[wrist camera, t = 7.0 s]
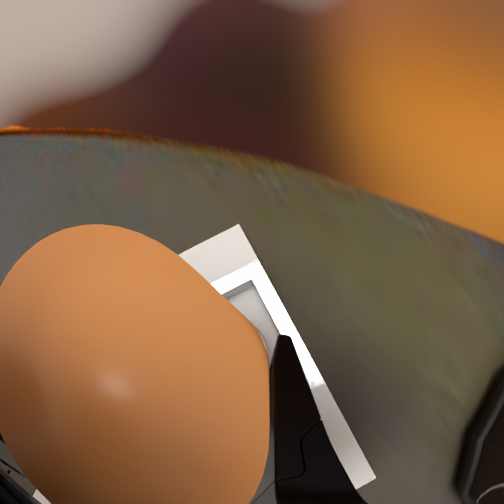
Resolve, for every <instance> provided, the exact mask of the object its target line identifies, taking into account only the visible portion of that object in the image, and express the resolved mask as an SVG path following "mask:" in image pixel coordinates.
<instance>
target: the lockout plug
mask: <svg viewBox="0 0 504 504" xmlns="http://www.w3.org/2000/svg"><path fill="white" fill-rule="evenodd" d="M269 429H270V418H269V353H268V346H267V343H266V340H265V338H264V336H263V334H262V333H261V332H260V330H259V329H258V328H257V327H256V326H255V325H254V324H253V323H252V322H250V321H249V320H248V319H247V318H246V317H245V316H244V315H243V314H242V313H241V312H240V311H239V310H237V309H236V308H235V307H234V306H233V305H232V304H231V303H230V302H229V301H228V300H227V299H226V298H225V297H224V296H222V295H221V294H220V293H219V292H218V291H217V290H216V289H215V288H214V287H213V286H212V285H211V284H210V283H209V282H208V281H207V280H206V279H205V278H204V277H203V276H202V275H201V274H200V273H199V272H197V271H196V270H195V269H194V268H193V267H192V266H190V265H189V264H188V263H187V262H186V261H185V260H184V259H182V258H181V257H180V256H179V255H178V254H176V253H175V252H173V251H171V250H170V249H168V248H167V247H165V246H164V245H162V244H161V243H159V242H158V241H155V240H153V239H151V238H149V237H147V236H145V235H143V234H141V233H138V232H135V231H132V230H128V229H125V228H122V227H117V226H110V225H102V224H96V225H81V226H76V227H71V228H67V229H64V230H61V231H59V232H56V233H54V234H51V235H50V236H48V237H46V238H44V239H43V240H41V241H39V242H38V243H37V244H35V245H34V246H33V247H32V248H30V249H29V250H28V251H27V252H26V253H25V254H24V255H23V256H22V257H21V258H20V259H19V260H18V261H17V262H16V263H15V265H14V266H13V267H12V269H11V270H10V271H9V273H8V274H7V276H6V277H5V279H4V281H3V283H2V285H1V287H0V433H1V435H2V438H3V440H4V442H5V444H6V446H7V448H8V449H9V451H10V453H11V455H12V456H13V458H14V460H15V461H16V463H17V464H18V466H19V467H20V469H21V470H22V471H23V473H24V474H25V475H26V477H27V478H28V479H29V480H30V482H31V483H32V484H33V485H34V486H35V487H36V488H37V489H38V490H39V491H40V493H41V494H42V495H43V496H44V497H45V498H46V499H48V500H49V501H50V502H51V503H52V504H248V503H249V502H250V501H251V499H252V498H253V496H254V495H255V493H256V490H257V488H258V486H259V483H260V481H261V479H262V476H263V473H264V469H265V465H266V460H267V456H268V448H269Z"/></svg>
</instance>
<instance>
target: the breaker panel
mask: <svg viewBox="0 0 504 504" xmlns="http://www.w3.org/2000/svg"><path fill="white" fill-rule="evenodd" d="M179 256H180V257H181V258H182V259H184V260H185V261H186V262H187V263H188V264H189V265H190V266H192V267H193V268H194V269H195V270H196V271H197V272H199V273H200V274H201V275H202V276H203V277H204V278H205V279H206V280H207V281H208V282H209V283H210V284H211V283H213V282H215V281H217V280H219V279H220V278H222V277H224V276H226V275H228V274H230V273H232V272H234V271H236V270H238V269H240V268H242V267H244V266H246V265H248V264H250V263H252V262H254V261H256V260H258V258H257V256H256V254H255V253H254V251H253V249H252V247H251V245H250V243H249V242H248V240H247V238H246V236H245V234H244V232H243V231H242V229H241V227H240V225H239V224H238V225H236V226H234V227H232V228H230V229H228V230H226V231H224V232H222V233H220V234H218V235H216V236H214V237H212V238H210V239H208V240H206V241H204V242H202V243H200V244H198V245H196V246H194V247H193V248H191V249H189V250H187V251H185V252H183V253H181V254H179ZM261 266H262V265H261ZM262 268H263V267H262ZM268 279H269V278H268ZM274 290H275V289H274ZM227 300H228V301H229V302H230V303H231V304H232V305H233V306H234V307H235V308H236V309H237V310H239V311H240V312H241V313H242V314H243V315H244V316H245V317H246V318H247V319H248V320H249V321H250V322H252V323H253V324H254V325H255V326H256V327H257V328H258V329H259V330H260V332H261V333H262V334H263V336H264V338H265V340H266V343H267V346H268V353H269V368H270V364H271V360H272V355H273V351H274V348H275V344H276V340H277V337H278V335H279V332H278V331H277V329H276V327H275V325H274V323H273V321H272V319H271V317H270V316H269V314H268V312H267V310H266V308H265V306H264V304H263V302H262V301H261V299H260V297H259V295H258V293H257V291H256V289H255V287H254V286H252V287H250V288H248V289H246V290H244V291H242V292H240V293H238V294H236V295H234V296H232V297H230V298H228V299H227ZM280 301H281V300H280ZM281 303H282V302H281ZM287 314H288V313H287ZM293 325H294V324H293ZM294 327H295V326H294ZM300 338H301V337H300ZM306 349H307V348H306ZM307 351H308V350H307ZM313 362H314V361H313ZM320 375H321V374H320ZM311 392H312V394H313V397H314V400H315V402H316V405H317V408H318V410H319V413H320V416H321V419H320V420H322V421H323V424H324V427H325V429H326V432H327V434H328V437H329V439H330V442H331V444H332V446H333V448H334V450H335V452H336V454H337V456H338V458H339V460H340V462H341V463H342V465H343V467H344V469H345V471H346V473H347V474H348V476H349V478H350V480H351V482H352V484H353V485H354V487H355V489H358V488H360V487H361V486H363V485H365V484H367V483H368V482H370V481H372V480H374V479H375V478H376V477H375V475H374V473H373V471H372V469H371V467H370V465H369V463H368V462H367V460H366V458H365V456H364V454H363V452H362V450H361V449H360V447H359V445H358V443H357V441H356V439H355V437H354V436H353V434H352V432H351V430H350V428H349V426H348V424H347V423H346V421H345V419H344V417H343V415H342V413H341V411H340V410H339V408H338V406H337V404H336V402H335V400H334V398H333V397H332V395H331V393H330V391H329V389H328V387H327V385H326V384H325V383H323V384H321V385H320V386H318V387H316V388H314V389H312V390H311ZM248 504H250V502H249V503H248Z"/></svg>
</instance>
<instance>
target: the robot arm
mask: <svg viewBox="0 0 504 504" xmlns="http://www.w3.org/2000/svg"><path fill="white" fill-rule="evenodd" d="M269 418H270V429H269V448H268V456H267V460H266V465H265V469H264V473H263V476H262V479H261V481H260V483H259V486H258V488H257V490H256V493H255V495H254V496H253V498H252V499H251V501H250V504H368V503H367V502H366V501H365V500H363V498H362V497H361V496H360V495H359V493H358V492H357V491H356V489H355V487H354V485H353V484H352V482H351V480H350V478H349V476H348V474H347V473H346V471H345V469H344V467H343V465H342V463H341V462H340V460H339V458H338V456H337V454H336V452H335V450H334V448H333V446H332V444H331V442H330V439H329V437H328V434H327V432H326V429H325V427H324V424H323V421H322V420H320V419H321V416H320V413H319V410H318V408H317V405H316V402H315V400H314V397H313V394H312V392H311V389H310V386H309V383H308V381H307V378H306V375H305V373H304V370H303V367H302V365H301V362H300V359H299V356H298V354H297V351H296V348H295V346H294V343H293V340H292V338H291V337H290V336H288V335H283V334H279V335H278V337H277V340H276V344H275V348H274V351H273V355H272V360H271V364H270V368H269ZM36 489H37V488H36V487H35V486H34V485H33V484H32V483H31V482H30V480H29V479H28V478H27V477H26V475H25V474H24V473H23V471H22V470H21V469H20V467H19V466H18V464H17V463H16V461H15V460H14V458H13V456H12V455H11V453H10V451H9V449H8V448H7V446H6V444H5V442H4V440H3V438H2V435H1V433H0V504H41V503H40V502H39V501H37V500H36V499H35V498H34V497H33V494H34V492H35V490H36Z"/></svg>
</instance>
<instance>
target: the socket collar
mask: <svg viewBox="0 0 504 504" xmlns="http://www.w3.org/2000/svg"><path fill="white" fill-rule="evenodd" d="M211 285H212V286H213V287H214V288H215V289H216V290H217V291H218V292H219V293H220V294H221V295H222V296H224V297H225V298H226V299H228V298H230V297H232V296H234V295H236V294H238V293H240V292H242V291H244V290H246V289H248V288H250V287H252V286H254V287H255V289H256V291H257V293H258V295H259V297H260V299H261V301H262V302H263V304H264V306H265V308H266V310H267V312H268V314H269V316H270V317H271V319H272V321H273V323H274V325H275V327H276V329H277V331H278V332H279V334H283V335H288V336H290V337H291V338H292V340H293V343H294V346H295V348H296V351H297V354H298V356H299V359H300V362H301V365H302V367H303V370H304V373H305V375H306V378H307V381H308V383H309V386H310V389H311V390H312V389H314V388H316V387H318V386H320V385H321V384H323V383H325V382H324V380H323V378H322V376H321V375H320V373H319V371H318V369H317V367H316V365H315V363H314V362H313V360H312V358H311V356H310V354H309V352H308V351H307V349H306V347H305V345H304V343H303V341H302V339H301V338H300V336H299V334H298V332H297V330H296V328H295V327H294V325H293V323H292V321H291V319H290V317H289V315H288V314H287V312H286V310H285V308H284V306H283V304H282V303H281V301H280V299H279V297H278V295H277V293H276V291H275V290H274V288H273V286H272V284H271V282H270V280H269V279H268V277H267V275H266V273H265V271H264V269H263V268H262V266H261V264H260V262H259V260H256V261H254V262H252V263H250V264H248V265H246V266H244V267H242V268H240V269H238V270H236V271H234V272H232V273H230V274H228V275H226V276H224V277H222V278H220V279H219V280H217V281H215V282H213V283H211Z"/></svg>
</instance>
